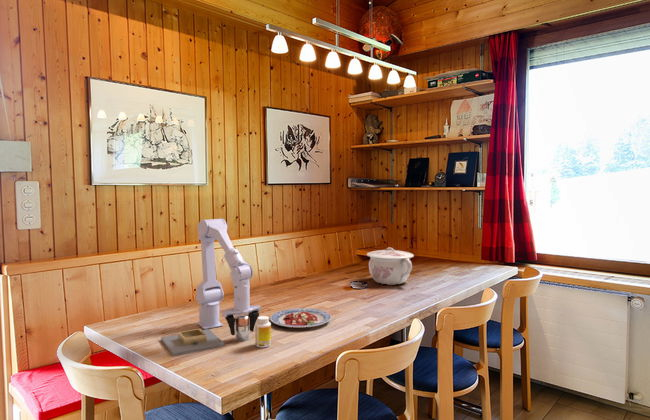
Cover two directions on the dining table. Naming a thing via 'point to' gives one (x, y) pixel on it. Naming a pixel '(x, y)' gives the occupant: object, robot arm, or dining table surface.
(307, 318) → the ceramic plate
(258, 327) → the supplement bottle
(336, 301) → the dining table surface
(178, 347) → the socket base
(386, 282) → the chamber pot
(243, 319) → the silver tin
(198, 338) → the square hollow frame
